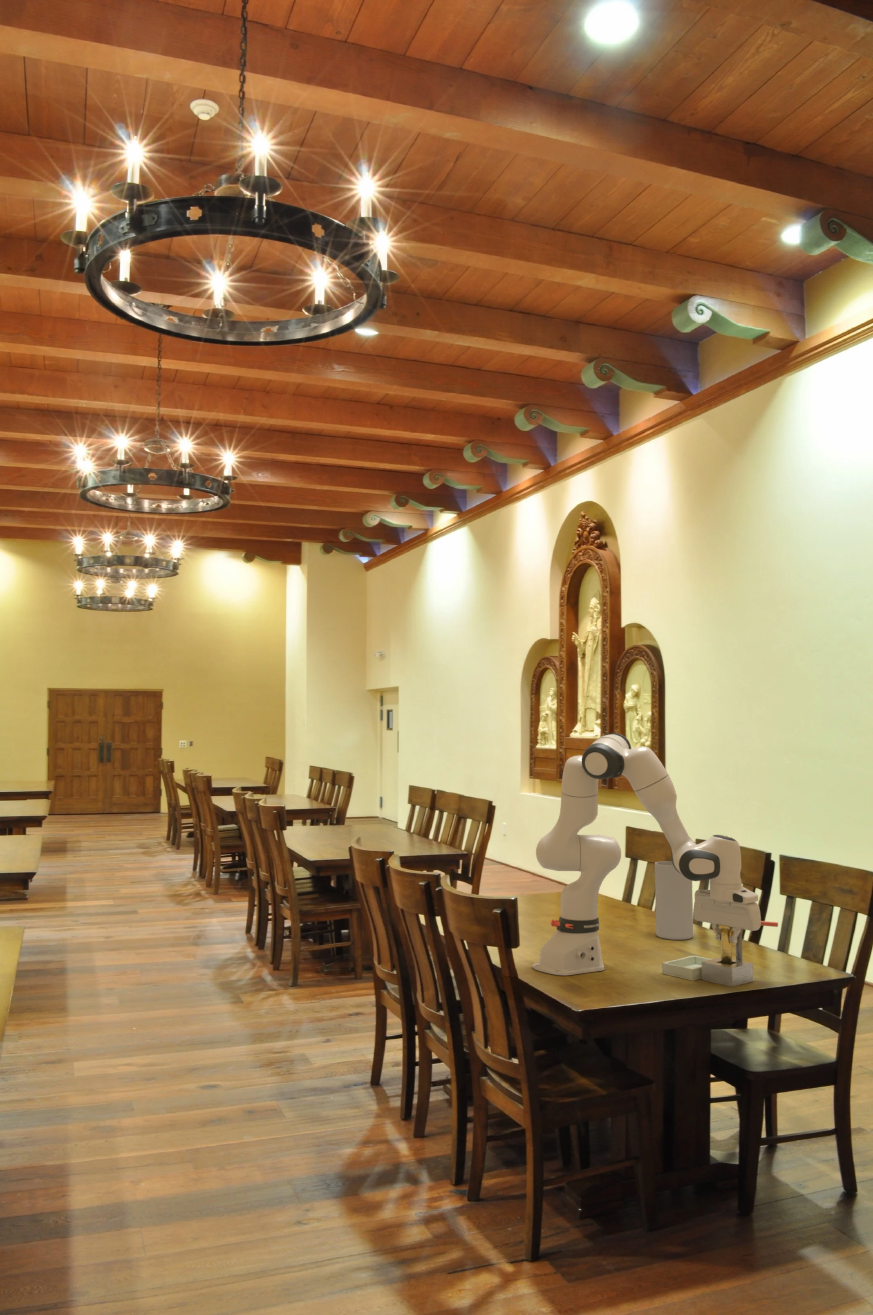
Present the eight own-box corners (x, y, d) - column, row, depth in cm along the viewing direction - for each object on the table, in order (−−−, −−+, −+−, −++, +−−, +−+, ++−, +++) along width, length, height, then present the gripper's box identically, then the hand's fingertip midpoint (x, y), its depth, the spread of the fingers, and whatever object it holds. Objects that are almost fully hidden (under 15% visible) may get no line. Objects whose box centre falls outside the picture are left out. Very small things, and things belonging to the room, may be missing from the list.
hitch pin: (729, 970, 273) (729, 926, 275) (715, 967, 276) (715, 924, 278) (737, 968, 276) (737, 925, 278) (723, 966, 279) (723, 923, 281)
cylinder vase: (690, 933, 341) (688, 861, 343) (696, 941, 329) (694, 866, 331) (653, 932, 342) (652, 861, 344) (658, 940, 330) (657, 865, 332)
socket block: (732, 987, 268) (731, 932, 269) (702, 980, 276) (701, 927, 277) (758, 980, 276) (756, 927, 277) (727, 973, 284) (726, 921, 285)
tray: (692, 980, 275) (692, 969, 275) (662, 973, 283) (662, 963, 283) (724, 972, 285) (724, 961, 285) (694, 965, 293) (694, 955, 293)
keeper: (731, 924, 279) (731, 919, 279) (733, 922, 282) (733, 917, 282) (776, 928, 274) (776, 923, 274) (778, 926, 277) (778, 921, 277)
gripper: (688, 888, 284) (689, 936, 283) (751, 899, 268) (752, 949, 268) (700, 886, 288) (701, 933, 287) (763, 896, 273) (764, 946, 272)
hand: (726, 941), depth 277 cm, fingers closed on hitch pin, 3 cm apart
